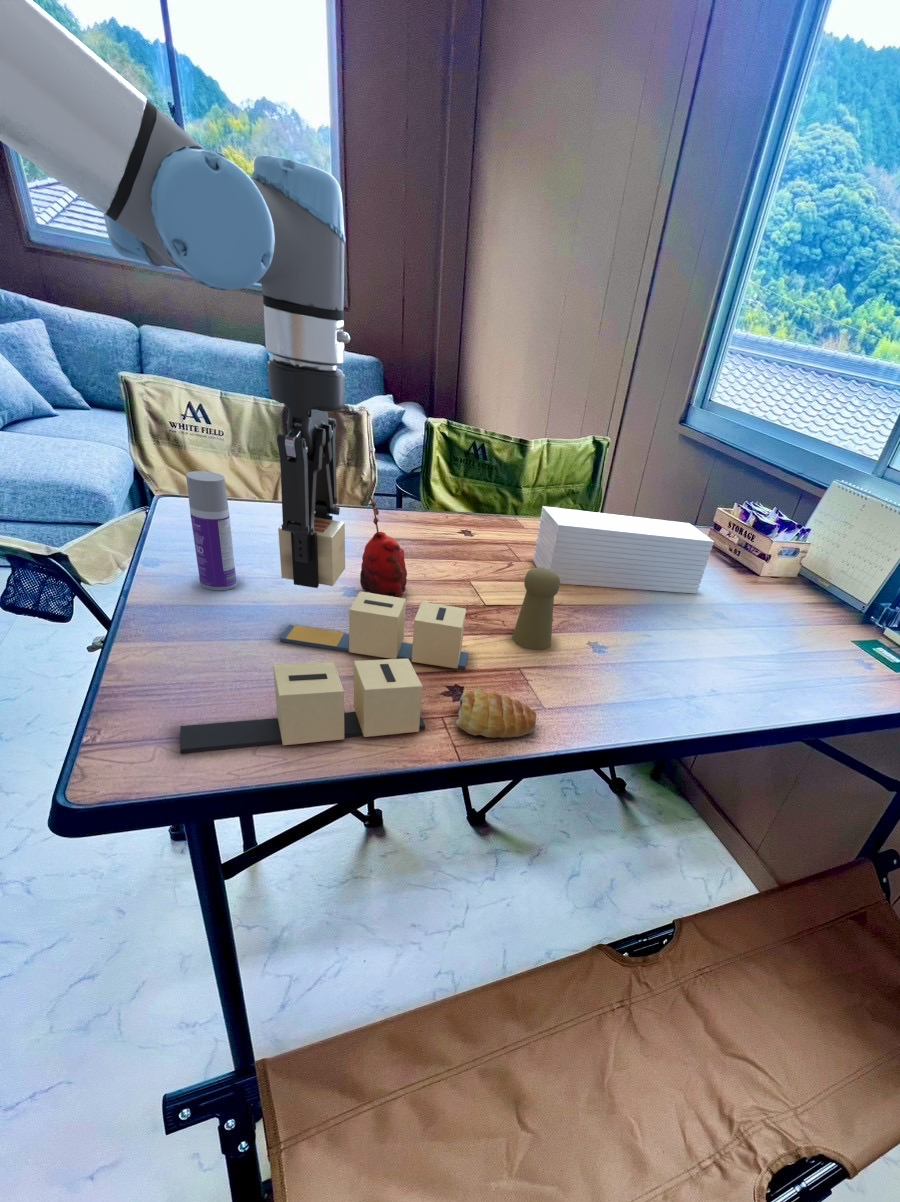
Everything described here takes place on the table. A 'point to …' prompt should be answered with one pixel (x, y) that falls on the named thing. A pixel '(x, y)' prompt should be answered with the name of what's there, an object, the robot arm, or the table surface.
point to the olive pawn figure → (537, 609)
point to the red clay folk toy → (383, 564)
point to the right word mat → (393, 632)
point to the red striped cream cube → (328, 550)
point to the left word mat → (323, 708)
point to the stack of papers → (621, 551)
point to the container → (211, 530)
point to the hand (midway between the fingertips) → (314, 574)
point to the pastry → (494, 715)
